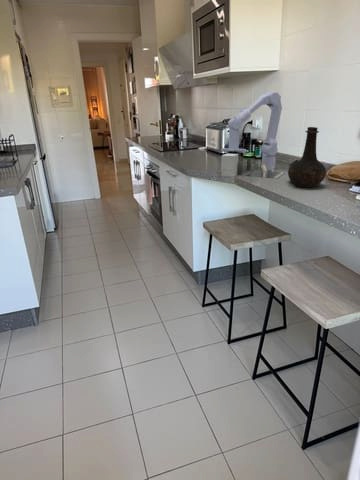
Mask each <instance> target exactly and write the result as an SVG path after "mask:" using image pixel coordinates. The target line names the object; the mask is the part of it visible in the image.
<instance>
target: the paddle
mask: <svg viewBox="0 0 360 480" xmlns="http://www.w3.org/2000/svg"><path fill="white" fill-rule="evenodd" d="M260 167H261V171H263V172H264V171H268V170H266V167H265V164H262V163H261V164H260Z"/></svg>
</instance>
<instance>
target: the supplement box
mask: <svg viewBox="0 0 360 480" xmlns="http://www.w3.org/2000/svg"><path fill="white" fill-rule="evenodd" d="M238 162H239V154H228V153H225V154H222V155H221V178H223V177H229V178H230V177H231V178H234V177H236V176H239V175H238Z"/></svg>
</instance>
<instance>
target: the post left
mask: <svg viewBox="0 0 360 480" xmlns="http://www.w3.org/2000/svg"><path fill="white" fill-rule="evenodd" d="M243 165H244V164H243V161H238V175H237V176H242V175H243Z"/></svg>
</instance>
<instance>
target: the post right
mask: <svg viewBox="0 0 360 480" xmlns="http://www.w3.org/2000/svg"><path fill="white" fill-rule="evenodd" d="M251 167H252V158H250V157H248V158H246V169H245V170H246V171H251V169H252V168H251Z"/></svg>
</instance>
